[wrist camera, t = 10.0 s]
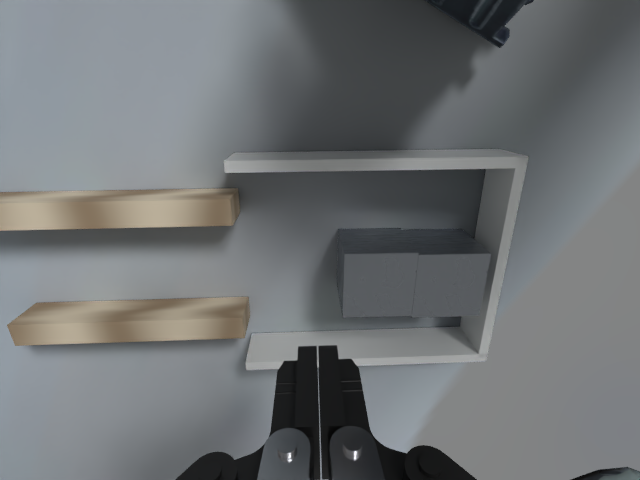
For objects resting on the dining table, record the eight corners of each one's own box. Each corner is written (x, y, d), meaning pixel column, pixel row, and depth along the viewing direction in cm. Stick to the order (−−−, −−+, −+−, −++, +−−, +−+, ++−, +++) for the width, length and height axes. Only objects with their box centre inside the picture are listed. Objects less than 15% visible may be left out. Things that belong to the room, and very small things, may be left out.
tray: (499, 148, 21) (529, 156, 18) (466, 333, 26) (486, 361, 23) (234, 152, 20) (223, 160, 18) (252, 340, 25) (246, 370, 23)
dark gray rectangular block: (400, 227, 23) (418, 253, 19) (395, 282, 24) (411, 316, 21) (338, 228, 23) (344, 254, 19) (336, 283, 24) (342, 317, 20)
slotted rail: (238, 188, 21) (230, 199, 19) (250, 315, 25) (244, 338, 22) (-3, 192, 21) (-42, 204, 18) (43, 321, 24) (15, 345, 22)
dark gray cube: (461, 228, 23) (491, 253, 19) (452, 282, 24) (479, 315, 21) (399, 229, 23) (418, 255, 19) (395, 284, 24) (411, 317, 21)
